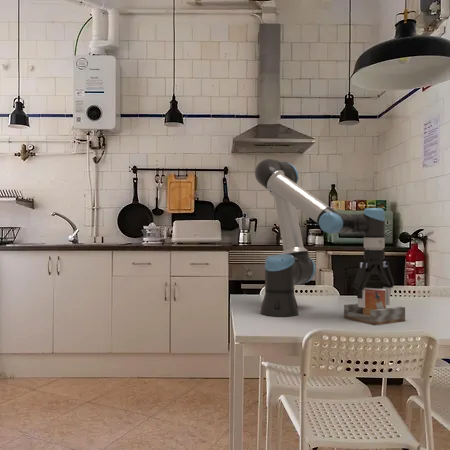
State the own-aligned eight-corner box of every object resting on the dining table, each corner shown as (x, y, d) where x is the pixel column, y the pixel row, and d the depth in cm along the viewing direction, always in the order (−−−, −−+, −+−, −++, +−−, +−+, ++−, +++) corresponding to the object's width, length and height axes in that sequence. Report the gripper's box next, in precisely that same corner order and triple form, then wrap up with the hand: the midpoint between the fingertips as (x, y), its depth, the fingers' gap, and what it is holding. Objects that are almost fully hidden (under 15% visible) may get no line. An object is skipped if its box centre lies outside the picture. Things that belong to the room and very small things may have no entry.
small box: (362, 317, 169) (362, 288, 169) (364, 314, 174) (364, 287, 174) (385, 318, 166) (385, 290, 166) (386, 316, 171) (386, 288, 171)
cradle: (374, 325, 159) (374, 311, 159) (344, 318, 172) (344, 304, 172) (405, 320, 167) (405, 307, 167) (373, 314, 180) (373, 301, 180)
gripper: (358, 249, 160) (358, 310, 160) (404, 249, 173) (404, 304, 172) (342, 249, 167) (342, 306, 167) (388, 248, 179) (388, 302, 179)
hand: (374, 305), depth 170 cm, fingers open, 13 cm apart
